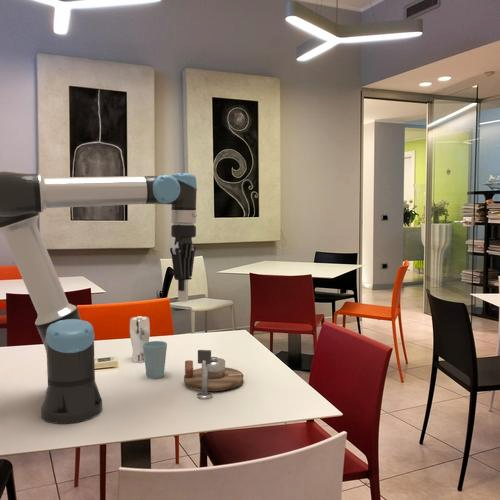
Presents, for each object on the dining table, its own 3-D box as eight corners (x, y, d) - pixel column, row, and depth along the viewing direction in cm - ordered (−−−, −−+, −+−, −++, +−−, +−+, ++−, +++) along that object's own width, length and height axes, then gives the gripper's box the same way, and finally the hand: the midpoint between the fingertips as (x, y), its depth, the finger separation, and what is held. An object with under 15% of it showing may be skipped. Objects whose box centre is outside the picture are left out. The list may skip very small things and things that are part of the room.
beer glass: (152, 361, 181) (151, 319, 180) (132, 363, 179) (131, 320, 178) (148, 356, 188) (147, 315, 187) (129, 358, 185) (128, 317, 184)
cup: (170, 377, 163) (169, 345, 163) (146, 380, 160) (145, 347, 160) (164, 371, 170) (163, 339, 170) (140, 374, 167) (140, 342, 167)
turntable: (246, 389, 150) (246, 368, 150) (184, 392, 148) (183, 370, 148) (240, 370, 168) (239, 351, 168) (184, 372, 166) (184, 353, 165)
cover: (225, 378, 155) (225, 360, 155) (202, 379, 154) (202, 361, 154) (224, 371, 162) (224, 354, 162) (202, 372, 161) (202, 355, 161)
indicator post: (210, 399, 144) (210, 352, 143) (195, 399, 144) (194, 352, 143) (214, 394, 148) (213, 348, 147) (199, 393, 149) (198, 348, 148)
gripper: (184, 224, 151) (184, 304, 152) (204, 224, 163) (203, 298, 164) (162, 224, 153) (161, 303, 155) (182, 224, 165) (182, 297, 167)
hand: (182, 300), depth 160 cm, fingers closed
